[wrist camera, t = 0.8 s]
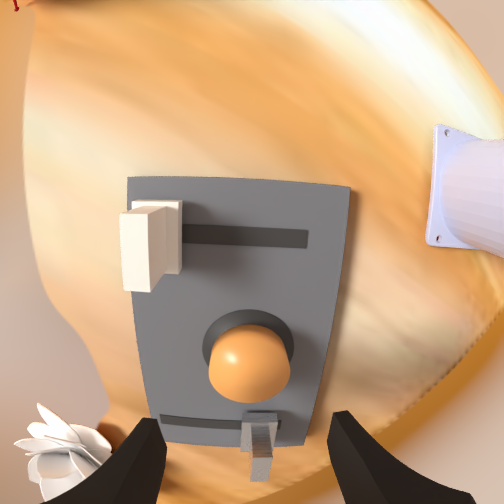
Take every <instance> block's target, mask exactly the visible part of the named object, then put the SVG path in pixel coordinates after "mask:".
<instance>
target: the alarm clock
mask: <svg viewBox="0 0 504 504" xmlns="http://www.w3.org/2000/svg"><path fill="white" fill-rule="evenodd" d="M13 2H14V5H15V11H18V10H19V7H17V2H16V0H13Z"/></svg>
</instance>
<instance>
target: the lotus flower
mask: <svg viewBox="0 0 504 504" xmlns="http://www.w3.org/2000/svg"><path fill="white" fill-rule="evenodd" d="M37 407H38V410H39V412H40V414H41V416H42V417H43V419H44V420H45V421H46V423H47V424H48V425H47V424H44V423H40V422H33V423H32V424H30V425H29V427H28V428H27V430H28V431H29V432H30V433H31V434H32V436H33V437H34V438H30V439H22V440H19V441H17V442H15V443H14V445H16V446H18V447H20V448H22V449H25V450H28V451H32V453H27V454H26V456H31V455H35V456H34V457H33V458H32V459H31V460H30V462H29V463H28V474H29V480H30V481H33V482H35V483H38V484H40V489H41V492H42V495H43V498H44V500H45V502H46V501H48V500H51V499H53V498H55V497H57V496H59V495H61V494H62V493H64V492H66V491H68V490H70V489H71V488H73V487H74V486H76V485H77V484H79V483H80V482H82V481H83V480H84V479H86V478H87V477H88V476H90V475H91V474H92V473H93V472H94V471H96V470H97V469H98V468H99V467H100V466H101V465H102V464H103V463H104V462H105V461H106V460H107V459H108V458H109V457H110V456H111V455H112V454H111V453H110V452H111V450H112V447H111V444H110V443H109V442H108V441H107V440H106V438H104V437H103V436H102V435H101V434H100V433H99V432H98V431H97V430H95V429H92V428H89V427H86V426H82V425H77V424H67V423H66V422H65V421H64V420H63V419H62V418H60V417H59V416H58V415H57V414H55V413H53V412H52V411H51V410H49V409H48V408H46V407H45V406H43V405H41V404H40V403H37Z"/></svg>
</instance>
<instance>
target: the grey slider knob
mask: <svg viewBox="0 0 504 504" xmlns="http://www.w3.org/2000/svg"><path fill="white" fill-rule="evenodd" d="M277 425H278V420H277V413H242V421H241V439H240V452H249V468H250V481H268V478H269V474H270V469H271V464H272V459H273V456H272V452H273V447H274V442H275V436H276V431H277Z"/></svg>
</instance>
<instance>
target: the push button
mask: <svg viewBox="0 0 504 504" xmlns="http://www.w3.org/2000/svg"><path fill="white" fill-rule="evenodd" d="M289 377H290V365H289V361H288V357H287V353H286V349H285V346H284V343H283V341H282V340H281V338H280V337H279V336H278V335H277V334H276V333H275V332H273V331H272V330H270V329H268V328H266V327H263V326H259V325H252V324H246V325H239V326H235V327H233V328H230V329H228V330H226V331H225V332H223V333H222V334H221V335H220V336H219V337H218V338H217V339H216V341H215V342H214V344H213V347H212V351H211V358H210V365H209V379H210V382H211V384H212V386H213V387H214V388H215V390H216V391H217V392H218V393H220V394H221V395H222V396H224V397H226V398H228V399H230V400H232V401H236V402H241V403H256V402H261V401H265V400H268V399H270V398H272V397H274V396H275V395H277V394H278V393H279V392H281V391H282V390H283V388H284V387H285V386H286V384H287V383H288V380H289Z"/></svg>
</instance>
